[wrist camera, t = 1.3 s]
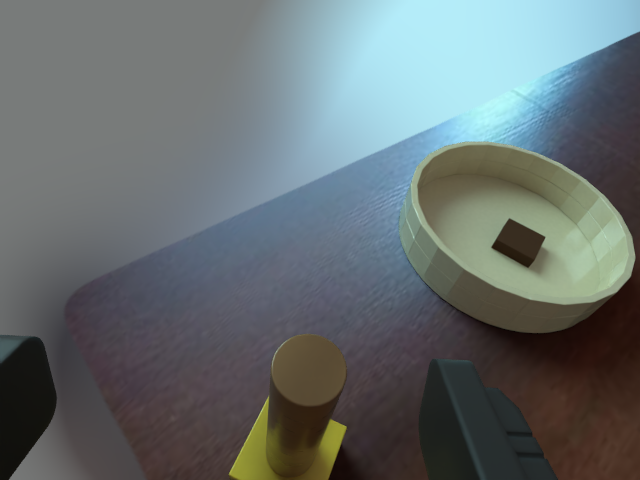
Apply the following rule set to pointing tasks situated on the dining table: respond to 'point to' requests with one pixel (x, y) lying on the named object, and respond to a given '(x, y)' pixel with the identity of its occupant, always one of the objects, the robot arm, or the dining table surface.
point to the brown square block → (518, 242)
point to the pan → (488, 220)
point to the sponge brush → (297, 415)
